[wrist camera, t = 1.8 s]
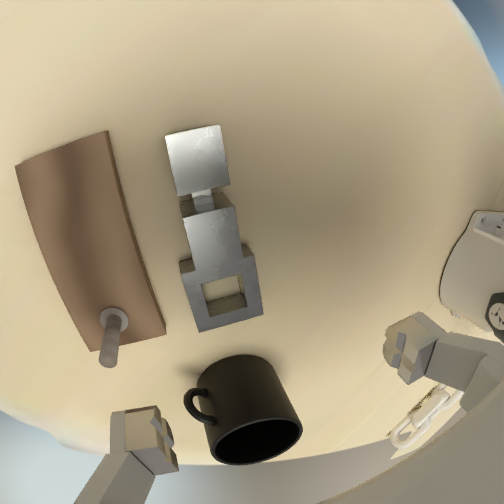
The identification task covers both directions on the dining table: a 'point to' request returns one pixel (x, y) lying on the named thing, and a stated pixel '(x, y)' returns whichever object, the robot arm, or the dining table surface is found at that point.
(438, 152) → the dining table surface
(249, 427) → the mug
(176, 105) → the dining table surface
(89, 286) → the brown board with peg
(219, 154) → the hasp latch
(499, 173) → the dining table surface
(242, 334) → the dining table surface
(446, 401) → the chain
